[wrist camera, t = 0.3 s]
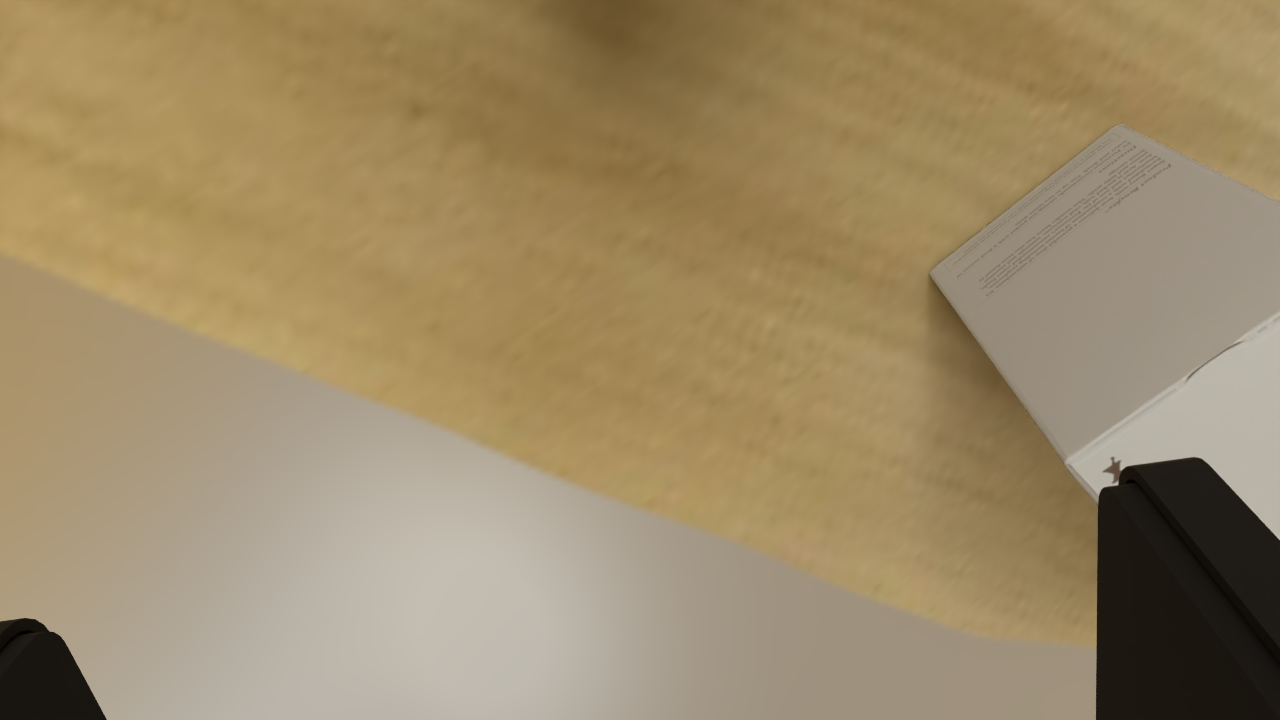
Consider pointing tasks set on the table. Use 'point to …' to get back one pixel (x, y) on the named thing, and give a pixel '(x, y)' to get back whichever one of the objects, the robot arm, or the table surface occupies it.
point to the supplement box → (1136, 315)
